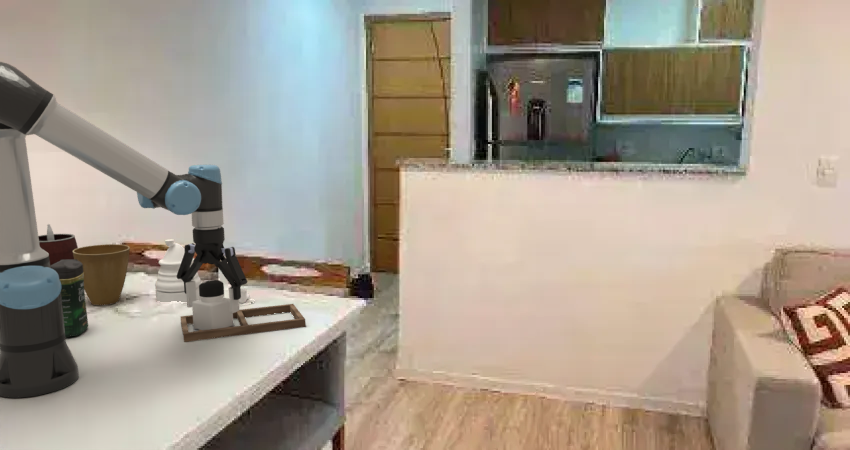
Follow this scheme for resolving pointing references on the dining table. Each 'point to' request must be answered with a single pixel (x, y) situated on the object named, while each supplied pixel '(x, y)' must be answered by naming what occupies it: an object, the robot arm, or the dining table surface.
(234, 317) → the walnut rack
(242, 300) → the teacup and saucer
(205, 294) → the medicine bottle
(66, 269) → the coffee jar
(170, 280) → the honey pot
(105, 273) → the plant pot
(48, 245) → the mate gourd
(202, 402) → the dining table surface
